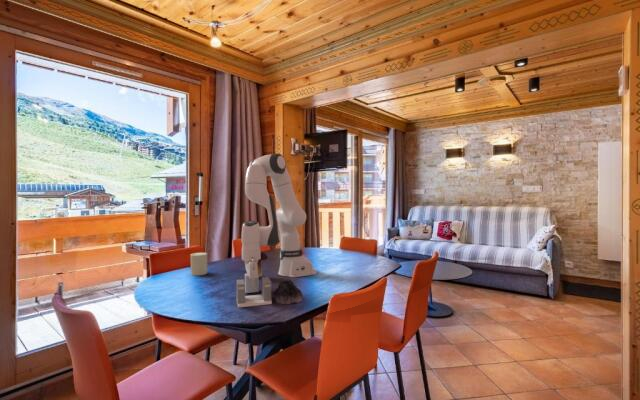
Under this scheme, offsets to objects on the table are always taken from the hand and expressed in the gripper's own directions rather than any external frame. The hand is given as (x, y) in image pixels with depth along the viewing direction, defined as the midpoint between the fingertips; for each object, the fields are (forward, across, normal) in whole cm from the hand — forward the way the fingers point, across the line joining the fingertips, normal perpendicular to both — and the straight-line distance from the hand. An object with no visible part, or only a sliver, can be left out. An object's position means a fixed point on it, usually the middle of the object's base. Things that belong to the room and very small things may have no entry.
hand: (251, 284), depth 152 cm
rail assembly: (+4, -14, +1) cm, 14 cm away
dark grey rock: (+4, -17, -14) cm, 22 cm away
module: (+3, 0, 0) cm, 3 cm away
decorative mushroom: (+4, +25, -6) cm, 26 cm away
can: (+4, +45, +26) cm, 52 cm away
